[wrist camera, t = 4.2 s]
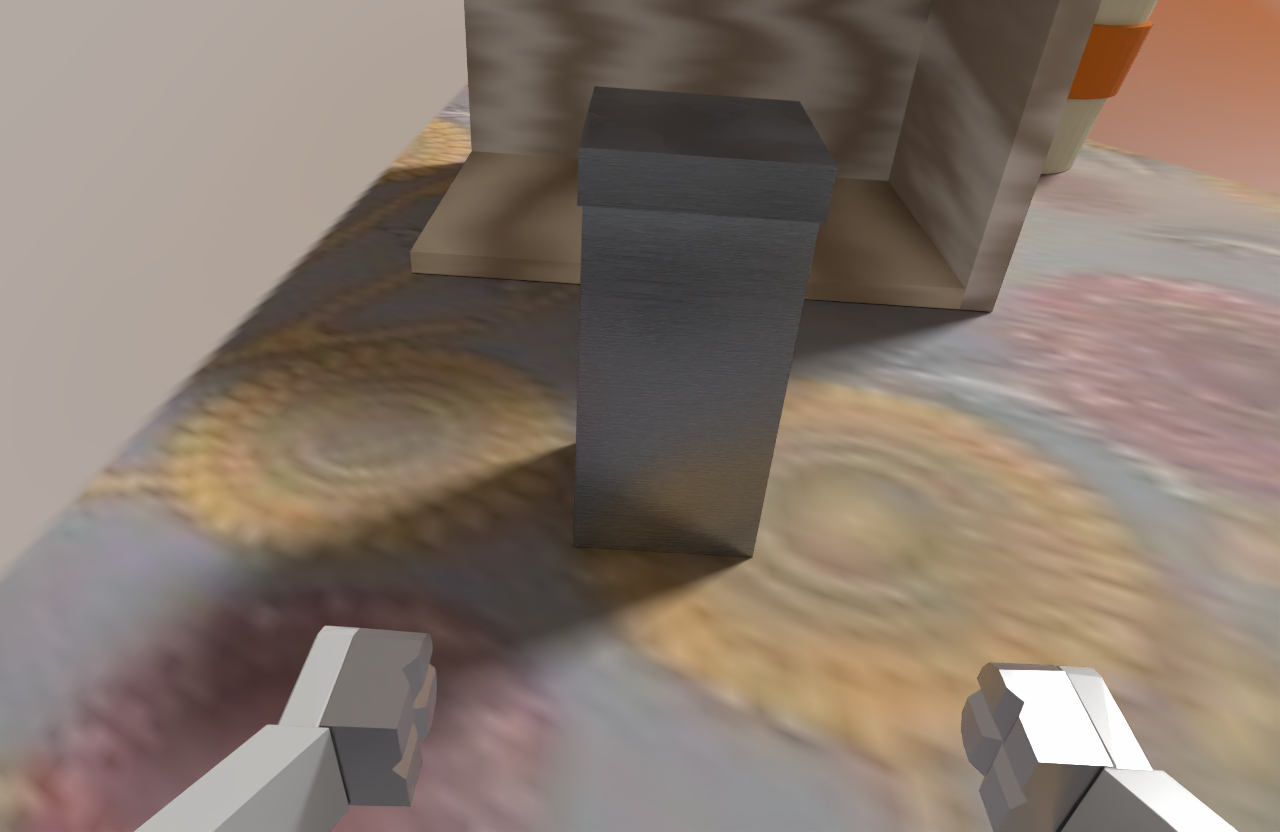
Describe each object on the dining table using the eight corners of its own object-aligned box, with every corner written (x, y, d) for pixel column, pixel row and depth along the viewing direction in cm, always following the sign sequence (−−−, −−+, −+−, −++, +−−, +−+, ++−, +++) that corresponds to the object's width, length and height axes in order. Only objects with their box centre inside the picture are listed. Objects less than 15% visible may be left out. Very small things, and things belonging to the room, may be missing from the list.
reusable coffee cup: (880, 134, 60) (935, -106, 52) (1000, 123, 65) (1069, -97, 57) (1011, 190, 51) (1105, -89, 43) (1139, 173, 56) (1246, -80, 48)
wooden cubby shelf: (902, 190, 50) (1005, -211, 38) (992, 311, 36) (1187, -245, 25) (477, 160, 49) (457, -257, 38) (412, 272, 36) (351, -317, 25)
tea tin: (740, 447, 27) (799, 101, 20) (756, 559, 22) (837, 165, 16) (582, 437, 27) (594, 85, 20) (569, 548, 22) (578, 147, 16)
